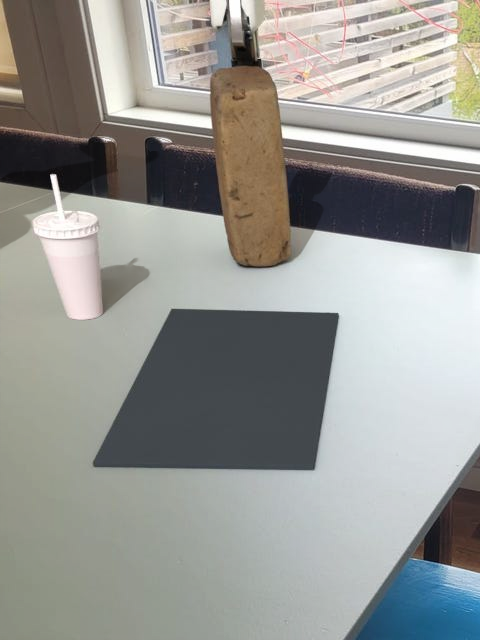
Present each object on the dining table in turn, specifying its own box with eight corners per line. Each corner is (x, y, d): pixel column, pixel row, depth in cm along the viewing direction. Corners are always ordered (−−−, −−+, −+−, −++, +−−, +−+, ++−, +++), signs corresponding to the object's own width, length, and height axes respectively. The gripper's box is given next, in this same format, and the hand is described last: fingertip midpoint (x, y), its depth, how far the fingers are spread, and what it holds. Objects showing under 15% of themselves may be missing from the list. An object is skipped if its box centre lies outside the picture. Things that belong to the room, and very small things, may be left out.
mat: (93, 466, 82) (92, 462, 81) (172, 312, 108) (171, 308, 108) (314, 470, 83) (313, 465, 83) (338, 316, 109) (338, 312, 109)
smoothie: (42, 321, 104) (8, 179, 96) (70, 299, 109) (40, 162, 101) (100, 327, 104) (72, 184, 95) (126, 305, 109) (101, 168, 100)
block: (295, 269, 120) (282, 88, 106) (232, 273, 118) (211, 89, 104) (281, 231, 127) (268, 56, 113) (222, 234, 125) (200, 58, 111)
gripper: (205, -104, 109) (226, 84, 121) (181, -95, 98) (207, 112, 109) (274, -101, 110) (288, 86, 121) (259, -92, 98) (276, 114, 110)
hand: (250, 98), depth 115 cm, fingers closed
